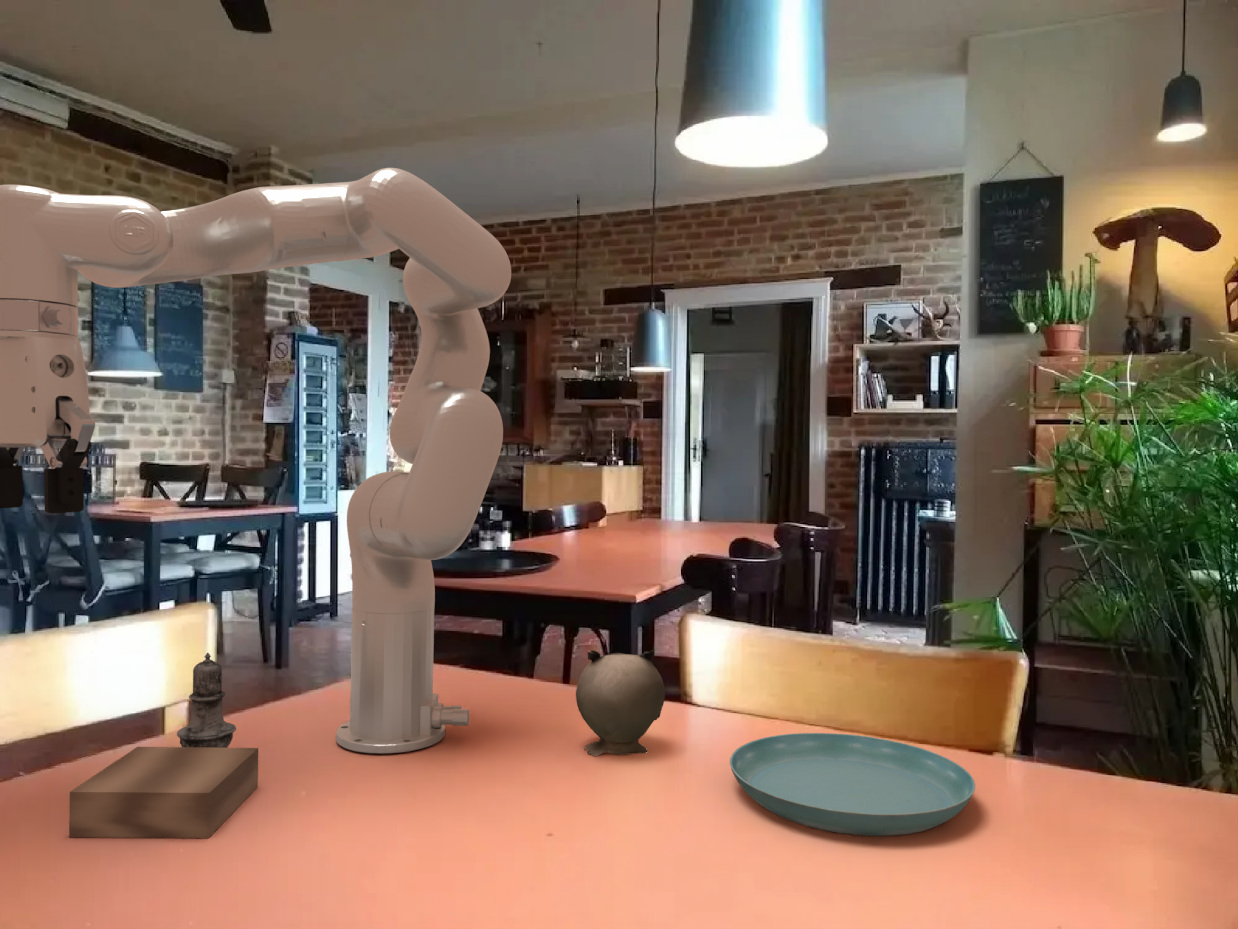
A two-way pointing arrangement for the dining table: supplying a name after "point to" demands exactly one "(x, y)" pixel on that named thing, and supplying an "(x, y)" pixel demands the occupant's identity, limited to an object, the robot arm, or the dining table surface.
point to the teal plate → (852, 783)
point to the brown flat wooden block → (164, 793)
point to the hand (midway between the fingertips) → (33, 510)
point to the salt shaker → (207, 709)
